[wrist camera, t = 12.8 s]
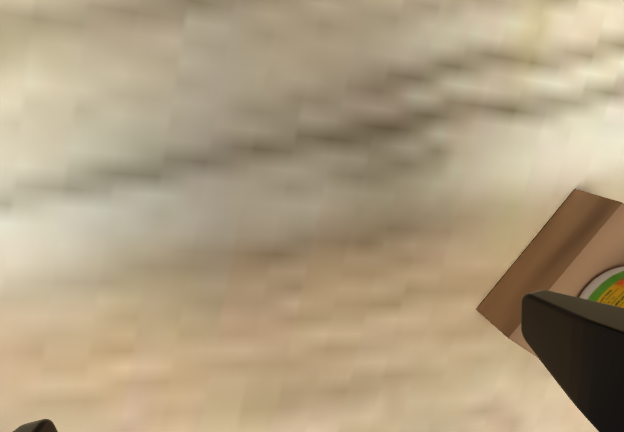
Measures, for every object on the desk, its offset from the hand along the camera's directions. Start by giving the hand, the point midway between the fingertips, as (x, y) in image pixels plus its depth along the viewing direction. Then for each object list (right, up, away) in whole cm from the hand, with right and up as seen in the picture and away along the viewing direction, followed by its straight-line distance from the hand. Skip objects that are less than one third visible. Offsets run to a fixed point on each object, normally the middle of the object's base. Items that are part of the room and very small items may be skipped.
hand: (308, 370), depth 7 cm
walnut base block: (+16, -1, +18) cm, 24 cm away
